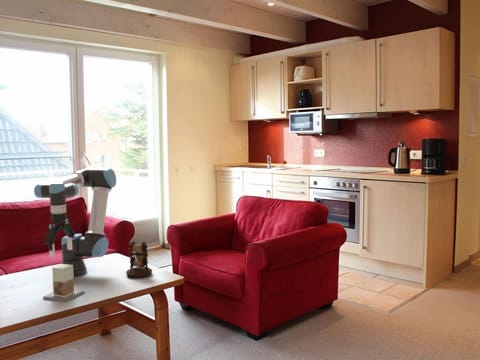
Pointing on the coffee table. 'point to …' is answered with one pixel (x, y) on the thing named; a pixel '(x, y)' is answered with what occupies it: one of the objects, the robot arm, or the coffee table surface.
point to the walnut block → (63, 287)
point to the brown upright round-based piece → (138, 260)
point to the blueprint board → (63, 298)
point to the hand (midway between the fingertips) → (61, 253)
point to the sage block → (62, 273)
